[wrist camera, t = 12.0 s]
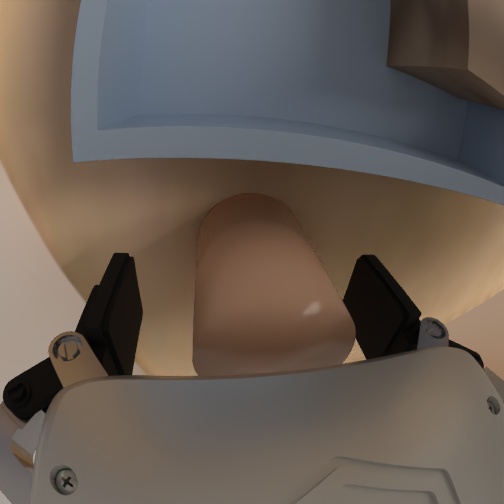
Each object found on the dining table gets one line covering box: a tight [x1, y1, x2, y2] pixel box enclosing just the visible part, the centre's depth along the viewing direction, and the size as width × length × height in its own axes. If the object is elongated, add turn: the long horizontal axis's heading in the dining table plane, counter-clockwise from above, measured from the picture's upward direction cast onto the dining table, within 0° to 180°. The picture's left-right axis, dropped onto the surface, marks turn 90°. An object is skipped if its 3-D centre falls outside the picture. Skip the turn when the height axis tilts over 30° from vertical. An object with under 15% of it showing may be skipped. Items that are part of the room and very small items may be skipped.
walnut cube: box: [386, 0, 504, 110], centre depth 6 cm, size 5×5×5 cm
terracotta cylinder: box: [192, 193, 356, 376], centre depth 11 cm, size 5×5×7 cm
